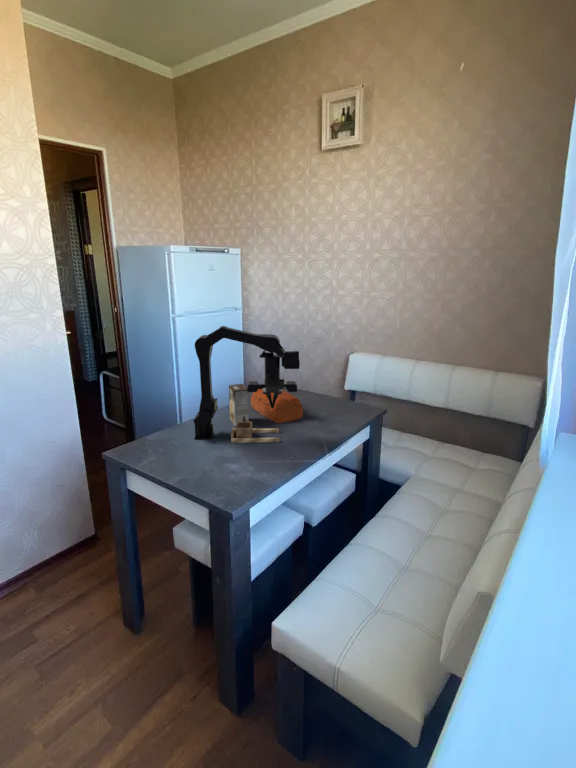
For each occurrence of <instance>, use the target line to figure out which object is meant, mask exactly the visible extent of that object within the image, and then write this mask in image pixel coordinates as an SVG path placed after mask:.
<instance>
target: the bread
mask: <svg viewBox="0 0 576 768" xmlns="http://www.w3.org/2000/svg"><path fill="white" fill-rule="evenodd" d="M273 394H274V393H271V397H272V402H273ZM250 405H251V408H252V409H253V410H254V411H256V412H257V413H259V414H260V415H261V416H263V417H264V418H266V419H269V420H270V421H271V422H273V423H276V424H277V423H278V424H282V423H287V422H292V421H296V420H301V419H302V418H303V416H304V414H303V412H304V410H303V404H302V403H301V399H300V398H298V397H297V396H295V395H292V394H290V392H287V390H286V391H285V390H284V389H282V394H279V395H278V397H277V399H276V402H275V405H274V408H271V406H270V403H269V400H268V398H267V396H266V394H263V390H262V389H258V391H257V392H252V395H251V397H250Z"/></svg>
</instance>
